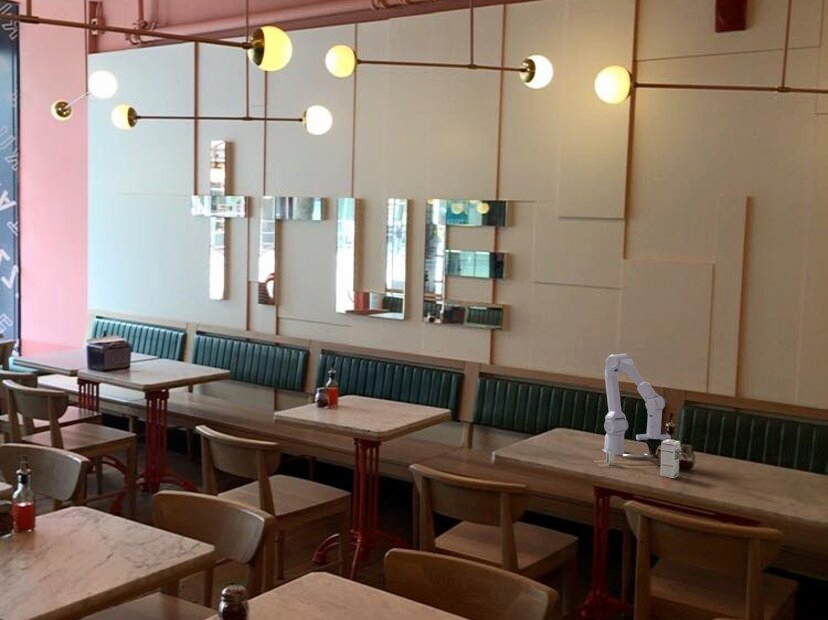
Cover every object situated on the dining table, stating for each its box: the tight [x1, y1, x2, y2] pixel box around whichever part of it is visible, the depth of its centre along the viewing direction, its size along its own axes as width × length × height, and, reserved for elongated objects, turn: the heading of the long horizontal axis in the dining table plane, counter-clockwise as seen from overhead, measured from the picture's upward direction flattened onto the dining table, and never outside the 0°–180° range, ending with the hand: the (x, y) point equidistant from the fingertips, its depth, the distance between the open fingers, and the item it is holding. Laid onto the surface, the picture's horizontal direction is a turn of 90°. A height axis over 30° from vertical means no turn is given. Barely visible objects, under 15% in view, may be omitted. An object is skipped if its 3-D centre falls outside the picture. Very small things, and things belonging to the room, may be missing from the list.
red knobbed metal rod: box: [621, 448, 661, 464], centre depth 397 cm, size 18×6×6 cm, turn 98°
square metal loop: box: [604, 449, 616, 466], centre depth 395 cm, size 6×3×6 cm, turn 8°
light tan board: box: [591, 459, 660, 469], centre depth 396 cm, size 12×25×1 cm, turn 98°
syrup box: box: [659, 439, 681, 479], centre depth 381 cm, size 6×6×14 cm
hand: (652, 456), depth 400 cm, fingers closed
